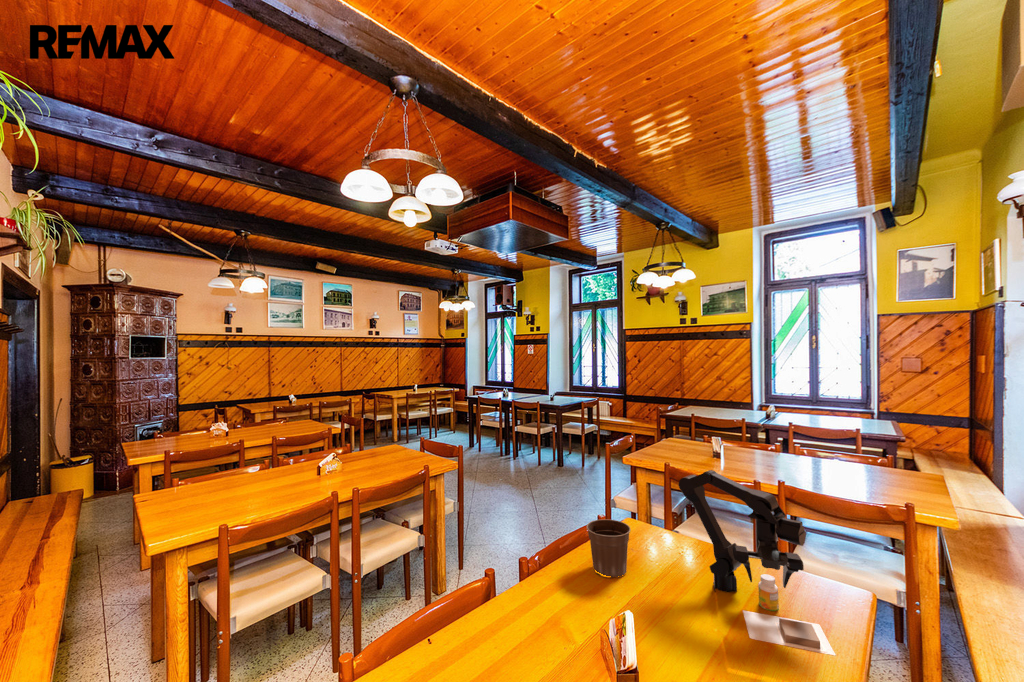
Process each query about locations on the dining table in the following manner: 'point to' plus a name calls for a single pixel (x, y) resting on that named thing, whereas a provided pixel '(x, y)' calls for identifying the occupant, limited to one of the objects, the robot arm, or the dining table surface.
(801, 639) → the grey plinth
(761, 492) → the robot arm
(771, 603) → the supplement bottle
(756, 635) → the white flat board
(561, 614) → the dining table surface
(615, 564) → the plant pot
